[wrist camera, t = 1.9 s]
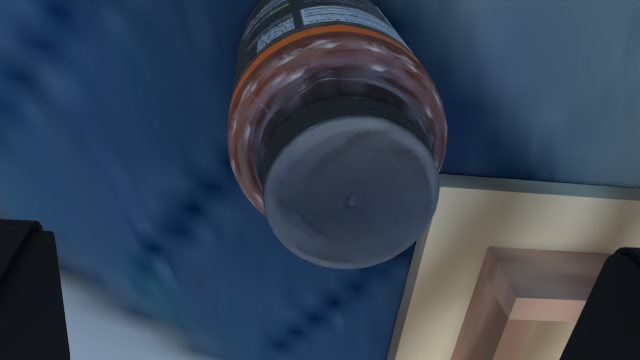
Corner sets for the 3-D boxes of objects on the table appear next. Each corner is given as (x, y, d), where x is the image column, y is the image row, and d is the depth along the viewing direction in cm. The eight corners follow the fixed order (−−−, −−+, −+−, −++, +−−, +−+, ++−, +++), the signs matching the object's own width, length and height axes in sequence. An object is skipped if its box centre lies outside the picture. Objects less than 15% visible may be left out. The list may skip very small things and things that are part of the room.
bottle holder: (750, 196, 27) (833, 256, 23) (623, 414, 35) (669, 487, 31) (433, 173, 25) (464, 233, 21) (373, 409, 33) (388, 487, 29)
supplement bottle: (344, 142, 24) (395, 335, 15) (215, 85, 23) (173, 259, 13) (418, 17, 22) (538, 147, 12) (279, -58, 20) (287, 22, 10)
